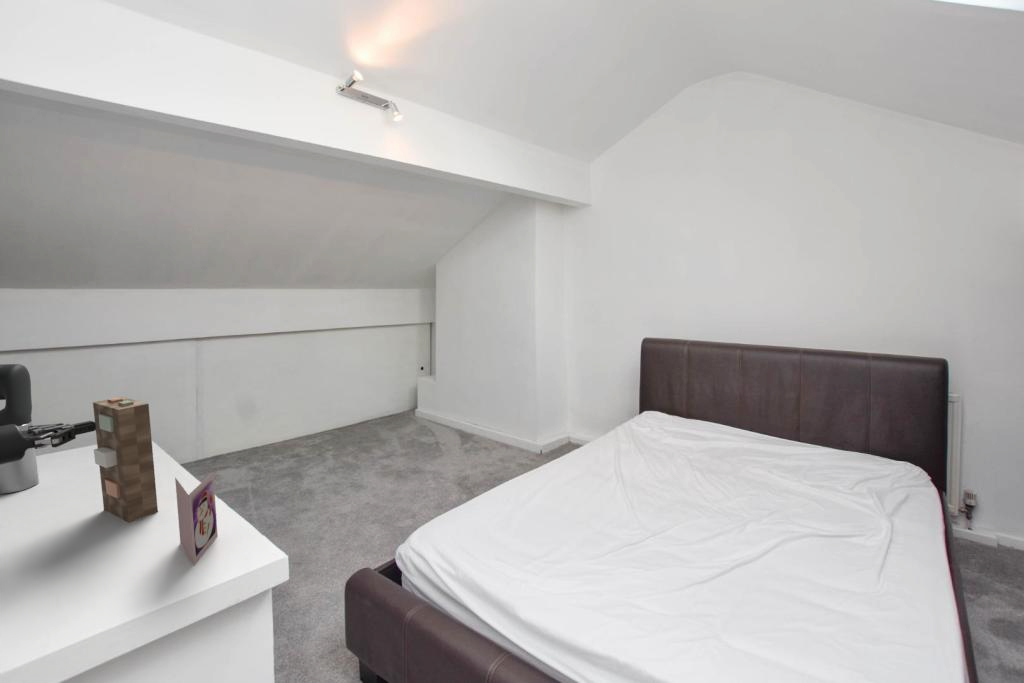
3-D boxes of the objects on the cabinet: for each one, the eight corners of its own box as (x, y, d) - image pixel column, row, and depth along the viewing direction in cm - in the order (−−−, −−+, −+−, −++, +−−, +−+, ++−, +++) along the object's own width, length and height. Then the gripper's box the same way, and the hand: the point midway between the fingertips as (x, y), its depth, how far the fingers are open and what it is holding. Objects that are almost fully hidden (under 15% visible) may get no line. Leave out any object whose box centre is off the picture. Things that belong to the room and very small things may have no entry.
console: (103, 510, 119) (92, 399, 115) (132, 500, 124) (122, 394, 120) (129, 522, 113) (118, 407, 109) (157, 511, 118) (148, 401, 115)
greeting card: (198, 566, 97) (193, 494, 95) (157, 569, 96) (150, 497, 94) (221, 535, 108) (217, 471, 106) (185, 538, 107) (179, 473, 105)
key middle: (95, 463, 114) (93, 449, 113) (111, 459, 116) (110, 445, 116) (106, 468, 111) (104, 453, 111) (122, 463, 114) (121, 449, 114)
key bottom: (106, 493, 116) (105, 479, 116) (122, 488, 119) (120, 475, 118) (117, 498, 114) (116, 484, 113) (133, 493, 116) (132, 479, 116)
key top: (99, 428, 114) (98, 414, 113) (116, 425, 117) (114, 411, 116) (110, 432, 112) (109, 417, 111) (127, 428, 114) (125, 414, 114)
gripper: (-3, 435, 92) (107, 413, 107) (-29, 424, 98) (78, 405, 113) (1, 473, 93) (110, 446, 108) (-24, 460, 99) (81, 436, 114)
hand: (93, 425), depth 111 cm, fingers closed
